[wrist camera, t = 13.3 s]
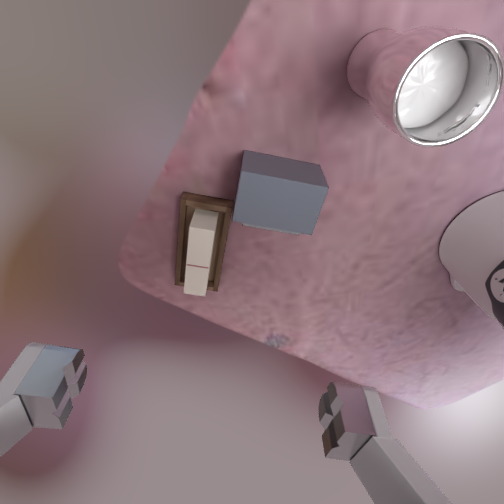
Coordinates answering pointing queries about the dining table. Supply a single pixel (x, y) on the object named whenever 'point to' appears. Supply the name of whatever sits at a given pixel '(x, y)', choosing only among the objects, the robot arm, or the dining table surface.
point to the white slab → (200, 251)
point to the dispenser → (279, 193)
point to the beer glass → (427, 81)
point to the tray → (223, 221)
